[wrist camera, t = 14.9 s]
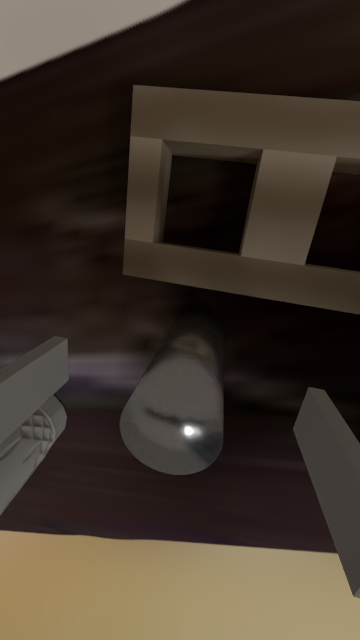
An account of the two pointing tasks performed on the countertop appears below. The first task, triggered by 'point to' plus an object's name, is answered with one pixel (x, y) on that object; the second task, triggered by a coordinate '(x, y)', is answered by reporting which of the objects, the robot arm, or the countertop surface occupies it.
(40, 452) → the white cup
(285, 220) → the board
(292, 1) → the countertop surface
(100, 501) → the countertop surface
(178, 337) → the peg
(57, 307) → the countertop surface
